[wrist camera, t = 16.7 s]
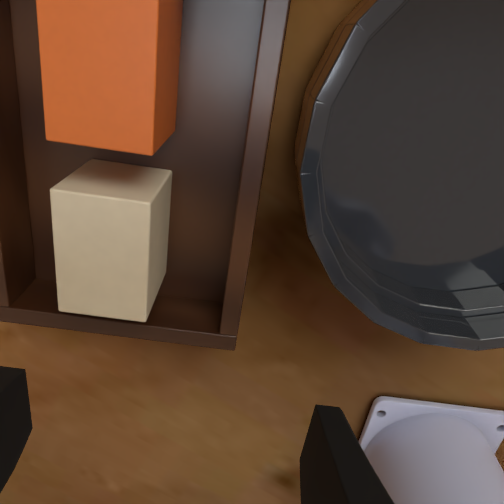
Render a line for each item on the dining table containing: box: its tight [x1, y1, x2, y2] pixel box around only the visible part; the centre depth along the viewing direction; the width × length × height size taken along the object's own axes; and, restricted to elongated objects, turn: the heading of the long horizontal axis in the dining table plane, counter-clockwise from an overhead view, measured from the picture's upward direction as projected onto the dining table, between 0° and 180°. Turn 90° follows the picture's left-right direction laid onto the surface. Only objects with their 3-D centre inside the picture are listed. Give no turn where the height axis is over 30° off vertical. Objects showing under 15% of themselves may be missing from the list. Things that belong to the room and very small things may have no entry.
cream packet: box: [50, 159, 172, 322], centre depth 17 cm, size 5×3×4 cm
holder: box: [0, 0, 291, 351], centre depth 17 cm, size 16×11×3 cm
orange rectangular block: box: [36, 0, 183, 156], centre depth 14 cm, size 5×3×4 cm
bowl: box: [294, 0, 504, 351], centre depth 16 cm, size 15×15×4 cm
